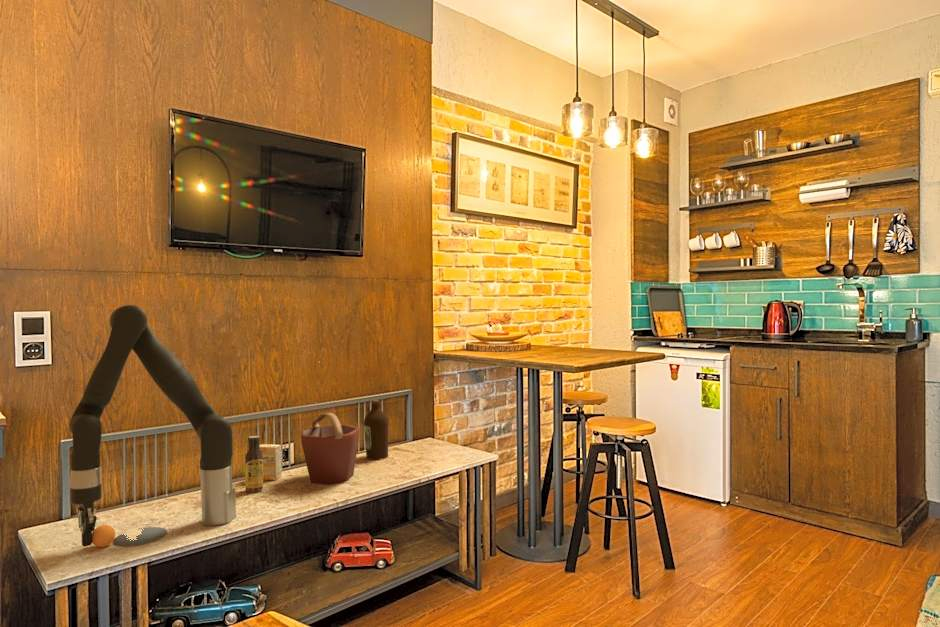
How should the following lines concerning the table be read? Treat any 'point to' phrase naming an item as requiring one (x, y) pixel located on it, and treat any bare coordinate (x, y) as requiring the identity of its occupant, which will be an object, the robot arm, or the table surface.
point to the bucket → (330, 450)
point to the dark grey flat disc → (141, 537)
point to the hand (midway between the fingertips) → (86, 545)
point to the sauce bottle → (254, 466)
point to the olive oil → (376, 433)
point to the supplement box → (271, 461)
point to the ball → (103, 535)
